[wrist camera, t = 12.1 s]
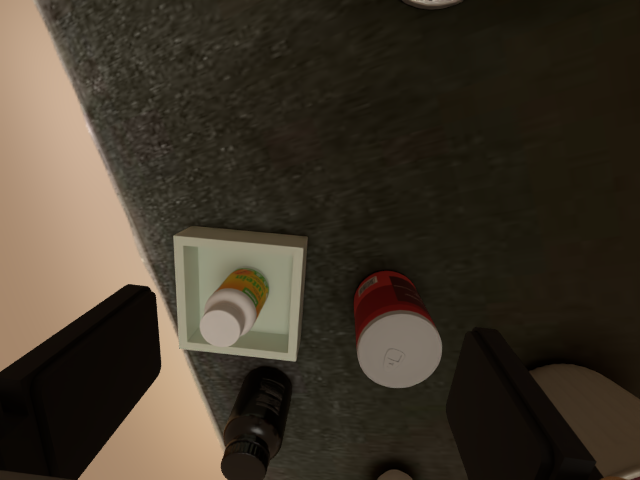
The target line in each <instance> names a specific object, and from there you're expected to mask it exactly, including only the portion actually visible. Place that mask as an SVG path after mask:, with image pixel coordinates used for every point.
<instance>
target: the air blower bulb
mask: <svg viewBox="0 0 640 480" xmlns="http://www.w3.org/2000/svg"><path fill="white" fill-rule="evenodd" d="M377 480H413V479H412V478H411V477H410V476H409V475H407V474H406V473H404V472H401V471H399V470H389V471H386V472H385V473H384V474H382V475H381V476H380V477H379V478H378V479H377Z"/></svg>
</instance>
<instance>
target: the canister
mask: <svg viewBox="0 0 640 480" xmlns="http://www.w3.org/2000/svg"><path fill="white" fill-rule="evenodd" d="M529 373H530V374H531V375H532V377H533V378H534V379H535V381H536V382H537V383H538V385H539V386H540V387H541V388H542V390H543V391H544V392H545V394H546V395H547V396H548V398H549V399H550V400H551V402H552V403H553V404H554V406H555V407H556V408H557V410H558V411H559V412H560V414H561V415H562V416H563V418H564V419H565V420H566V422H567V423H568V424H569V426H570V427H571V428H572V430H573V431H574V432H575V434H576V435H577V436H578V438H579V439H580V440H581V442H582V443H583V444H584V446H585V447H586V448H587V450H588V451H589V452H590V454H591V455H592V456H593V458H594V459H595V460H596V464H595V466H596V467H597V469H598V470H599V471H600V473H601V474H602V475H603V477H604V478H605V477H608V476H612V477H621V478H624V479H627V480H640V399H638V398H637V397H635V396H634V395H632V394H631V393H629V392H628V391H626V390H625V389H623V388H622V387H620V386H619V385H617V384H616V383H614V382H613V381H611V380H610V379H608V378H606V377H604V376H603V375H601V374H599V373H598V372H595V371H593V370H590V369H588V368H585V367H582V366H577V365H574V364H564V363H561V364H552V365H544V366H543V367H537V368H536V369H534V370H530V371H529Z"/></svg>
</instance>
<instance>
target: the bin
mask: <svg viewBox="0 0 640 480" xmlns="http://www.w3.org/2000/svg"><path fill="white" fill-rule="evenodd" d="M307 241H308V237H307V236H297V235H286V234H275V233H264V232H254V231H243V230H232V229H222V228H211V227H200V226H191V227H189V228H187V229H185V230H183V231H181V232H179V233H177V234H176V235H174V256H175V275H176V295H177V315H178V334H179V349H188V350H197V351H206V352H215V353H224V354H233V355H242V356H251V357H260V358H269V359H278V360H288V361H296V359H297V354H298V349H299V345H300V340H301V327H302V313H303V299H304V284H305V270H306V256H307ZM242 267H250V268H254V269H256V270H258V271H260V272H261V273H262V274H263V275H264V276H265V277H266V279H267V281H268V283H269V295H268V298H267V300H266V302H265V304H264V306H263V308H262V310H261V312H260V314H259V316H258V318H257V320H256V321H255V323H254V325H253V327H252V328H251V329H250V330H249V331H248V332H247V333H246V334H244V335H242V336H240V337H239V339H238V340H237V341H236V342H235V343H234V344H232V345H231V346H228V347H217V346H214V345H212V344H210V343H208V342H207V341H206V340H205V339H204V338H203V336H202V334H201V332H200V321H201V319H202V317H203V316H204V308H205V304H206V302H207V300H208V299H209V297H210V296H211V295H212V294H213V293H214V292H215V291H216V290H217V288H218V287H219V286H220V285H221V284H222V283H223V282H224V281H225V279H226V278H227V277H228V276H229V275H230V274H231V273H232V272H233V271H235V270H236V269H239V268H242Z"/></svg>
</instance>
